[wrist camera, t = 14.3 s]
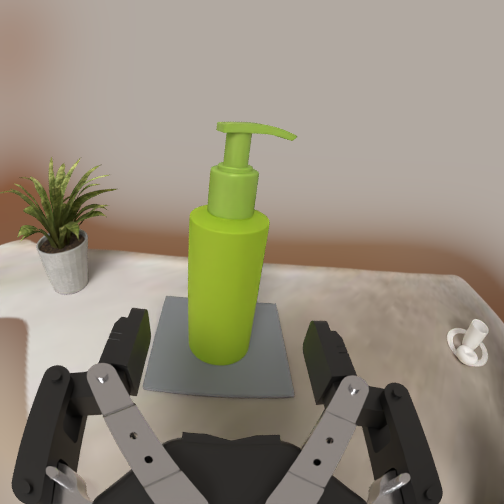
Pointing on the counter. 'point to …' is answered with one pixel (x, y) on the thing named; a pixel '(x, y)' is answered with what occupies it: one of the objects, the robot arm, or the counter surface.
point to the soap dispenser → (227, 252)
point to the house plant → (62, 230)
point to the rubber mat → (218, 376)
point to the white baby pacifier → (470, 343)
